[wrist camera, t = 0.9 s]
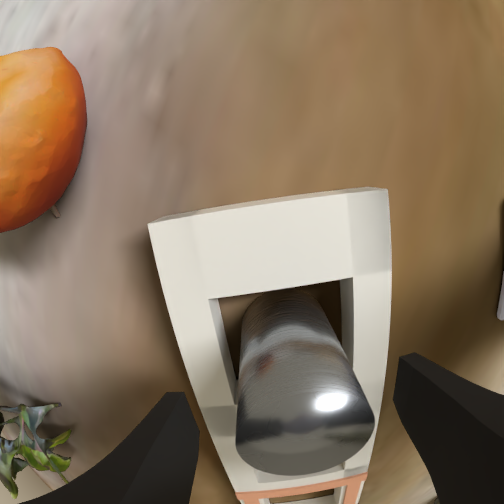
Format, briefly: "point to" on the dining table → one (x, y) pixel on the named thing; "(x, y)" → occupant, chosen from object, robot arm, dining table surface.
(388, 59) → the dining table surface
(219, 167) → the dining table surface
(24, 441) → the passion flower
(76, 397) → the dining table surface
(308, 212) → the hole rail
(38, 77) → the fruit
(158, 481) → the robot arm
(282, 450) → the metal peg
